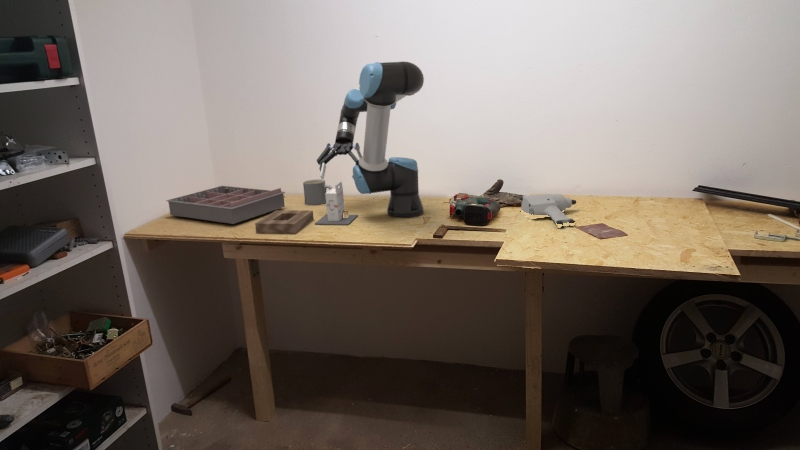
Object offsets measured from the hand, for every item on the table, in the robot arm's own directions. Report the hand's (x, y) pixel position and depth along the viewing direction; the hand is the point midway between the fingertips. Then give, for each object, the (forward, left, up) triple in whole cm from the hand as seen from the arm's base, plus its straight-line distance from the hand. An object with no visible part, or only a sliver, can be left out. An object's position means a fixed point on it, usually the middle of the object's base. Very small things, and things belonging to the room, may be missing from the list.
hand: (337, 177), depth 240 cm
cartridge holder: (+18, +16, -17) cm, 29 cm away
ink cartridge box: (0, +6, -16) cm, 17 cm away
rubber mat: (0, +6, -17) cm, 18 cm away
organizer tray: (+53, -3, -17) cm, 55 cm away
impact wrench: (-89, -1, -17) cm, 90 cm away
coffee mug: (+18, -23, -17) cm, 33 cm away
